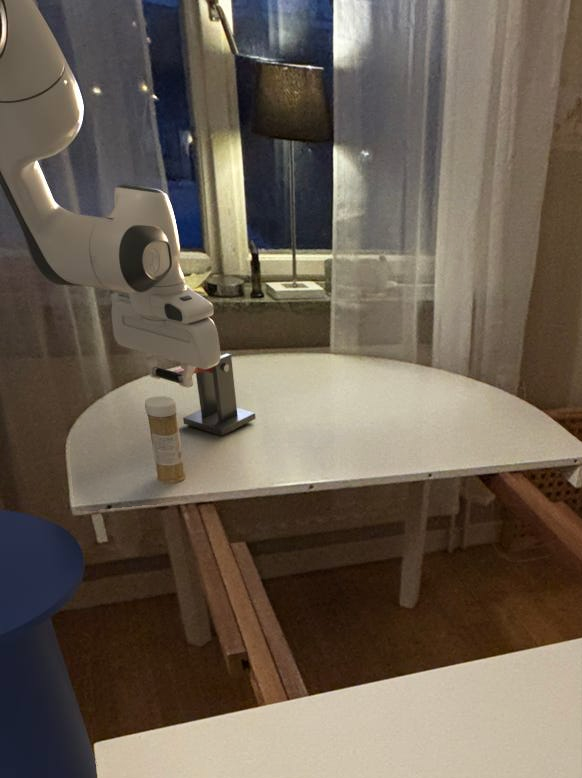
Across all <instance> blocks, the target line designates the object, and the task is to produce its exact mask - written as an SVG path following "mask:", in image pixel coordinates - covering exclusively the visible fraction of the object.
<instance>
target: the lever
mask: <svg viewBox="0 0 582 778" xmlns="http://www.w3.org/2000/svg"><path fill="white" fill-rule="evenodd" d="M183 371H184V369H182V368H179V369H174V370H169V369H166V368H164V367H163V368H157V369H156V376H157V377H158V378H160V379H161V380H162V379H163V380H164V381H165V380H166V381H170V382H172V383H175V384H179V378H178V376H181V375H183ZM202 371H206V372H210V373H213V372H212V368H209V369H201V368H198V367H196V369H195V371H194V373H193V375H196V373H198V372H202Z"/></svg>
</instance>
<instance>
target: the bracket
mask: <svg viewBox="0 0 582 778" xmlns="http://www.w3.org/2000/svg"><path fill="white" fill-rule="evenodd" d="M212 372H213V373H210V372H206V371H202V372H198V373H195V377H196V384H197V392H198V399H199V408H200V410H197V411H195V412H193V413H191V414H189V415H185V416H184V417H182V421H183V424H184V425H186V426H190V427H193V428H197V429H200V430H203V431H206V432H209V433H212V434H215V435H219V436H225V435H226V434H229V433H230V432H232V431H234V430H236V429H238V428H240V427H242V426H244V425H247V424H248V423H250V422H252V421H254V420H256V419H257V418H256V413H255V412H253V411H249V410H246V409H243V408H241V407H238V405H237V398H236V387H235V378H234V369H233V359H232V354H231V353H225V354H224V353H223V354H222V355H221V359H220V361H219V363H218V365H216V366H214V367H212Z"/></svg>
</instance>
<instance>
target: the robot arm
mask: <svg viewBox="0 0 582 778" xmlns="http://www.w3.org/2000/svg"><path fill="white" fill-rule="evenodd" d="M83 118H84V101H83V97H82V94H81V91H80V87H79V84H78V82H77V80H76V77H75V75H74V73H73V72H72V69H71V68H70V65H69V64H68V62H67V59H66V58H65V55H64V53H63V51H62V50H61V47H60V46H59V43H58V41H57V40H56V38H55V35H54V34H53V32H52V31H51V29H50V27H49V25H48V23H47V22H46V20H45V18H44V16H43V15H42V12H40V10H39V7H38V6H37V5H36V3H35V1H34V0H0V187H1V189H2V191H3V193H4V195H5V198H6V199H7V202H8V203H9V205H10V208H11V209H12V211H13V214H14V216H15V218H16V220H17V222H18V224H19V226H20V228H21V231H22V233H23V237H24V240H25V245H26V248H27V251H28V253H29V257H30V258H31V259H30V260H31V261H32V262H33V264H34V265H35V267H36V269H38V271H39V272H40V274H42V275H43V276H44V278H46V279H47V280H48V281H50V282H51V283H53V284H55V285H59V286H75V287H90V288H96V289H102V290H109V291H112V292H111V294H110V300H111V309H110V310H111V312H110V313H111V314H110V315H111V324H112V333H113V338H114V340H115V341H116V344H118V346H121V347H125V348H128V349H131V350H135V351H139V352H140V356H141V359H142V360H143V362H144V363H145V365H146V366H147V368H148V371H149V376H150V378H152V379H156V380H161V378H158V377H157V376H156V369H157V368H163V369H164V367H163V366H160V364H159V362H158V361H157V358H156V357H160V358H163V359H165V360H170V361H173V362H177V363H179V364H180V369H184V371H183V375H181V376H178V378H179V383H178V385H179V386H180V387H183V388H185V389H186V388H187V389H189V388H191V387H193V385H194V381H193V375H194V374H193V373H194V371H195V369H196V367H198V368H201V369H209V368H212V367H214V366H216V365H218V363H219V361H220V359H221V356H222V355H221V346H220V340H219V334H218V330H217V329H218V328H217V326H216V323H215V322H214V320H213V319H211V318H210V317H212V316H213V315H214V313H215V312H214V311H215V310H214V305H213V304H212V303H211V301H209V300H208V299H206V298H205V297H203V296H202V295H200V294H199V293H198V292H196V291H194V290H193V289H192V288H190V286H188V285H186V280H185V275H184V273H183V270H182V267H181V264H180V256H181V246H180V245H181V244H180V237H179V233H178V227H177V223H176V218H175V214H174V210H173V206H172V204H171V201H170V199H169V197H168V194H167V193H165V192H164V191H162V190H160V189H158V188H154V187H153V188H152V187H146V186H140V185H133V184H118V185H116V186H115V187H114V190H113V193H114V194H113V201H114V203H113V204H114V207H113V208H112V211H111V212H110V213H109V214H107V215H106V217H101V216H96V215H95V216H94V215H87V214H80V213H76V212H73V211H71V210H68V209H66V208H64V207H63V206H61V205H59V204H58V203H57V201H55V199H54V197H53V194H52V193H51V190H50V188H49V185H48V182H47V180H46V178H45V175H44V173H43V171H42V169H41V167H40V164H39V161H41V160H44V159H48V158H52V157H53V156H55V155H58V154H59V153H61V152H62V151H63V150H65V149H66V148H67V147H69V145H70V144H71V143H72V142H73V141H74V140H75V138H76V137H77V135H78V134H79V132H80V130H81V127H82V124H83Z"/></svg>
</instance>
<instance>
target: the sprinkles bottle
mask: <svg viewBox="0 0 582 778" xmlns="http://www.w3.org/2000/svg"><path fill="white" fill-rule="evenodd" d="M144 409H145V413H146V414H147V420H148V425H149V433H150V438H151V448H152V453H153V459H154V462H155V468H156V469H155V470H156V478H157V480H158V481H159V482H160V483H163V484H169V485H170V484H178V483H182V482H183V481H185V480H186V473H185V468H184V467H185V466H184V456H183V448H182V442H181V441H182V440H181V435H180V430H179V424H178V418H177V414H178V413H177V411H178V410H177V405H176V400H175V399H174V398H172V397H169V396H164V395H160V396H159V395H157V396H152V397H148V398H147V399H145V401H144Z"/></svg>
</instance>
